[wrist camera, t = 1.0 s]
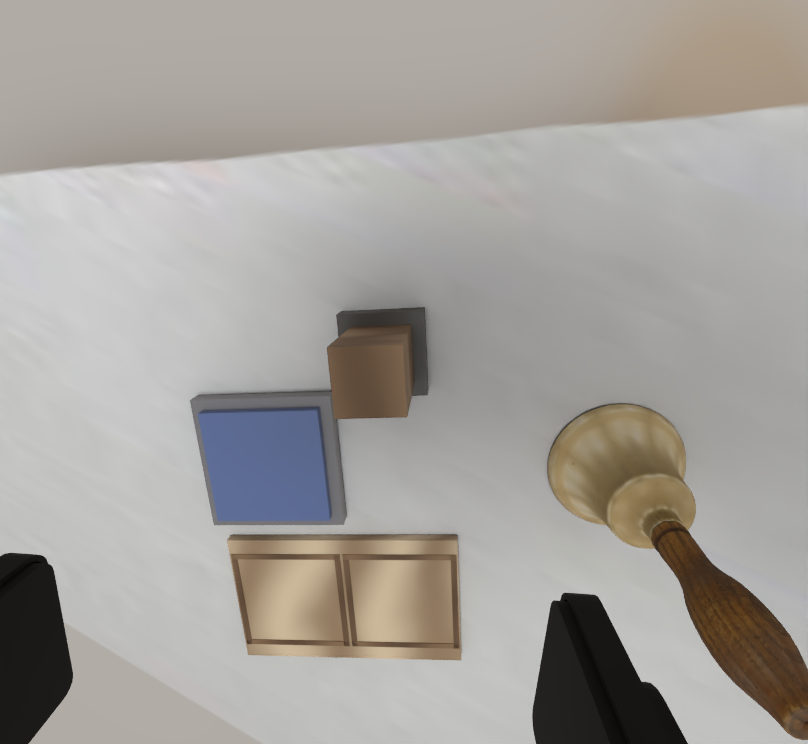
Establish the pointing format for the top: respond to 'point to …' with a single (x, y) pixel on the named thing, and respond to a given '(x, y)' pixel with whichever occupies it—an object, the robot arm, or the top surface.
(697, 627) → the hand bell
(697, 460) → the top surface
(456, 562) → the board
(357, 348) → the stamp
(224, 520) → the ink pad
